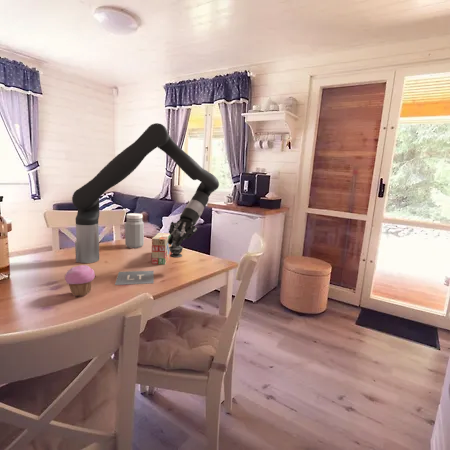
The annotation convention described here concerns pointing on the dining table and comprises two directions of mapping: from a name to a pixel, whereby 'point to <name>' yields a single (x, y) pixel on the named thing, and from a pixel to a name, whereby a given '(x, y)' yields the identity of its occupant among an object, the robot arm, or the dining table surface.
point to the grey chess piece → (174, 248)
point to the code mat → (135, 277)
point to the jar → (134, 230)
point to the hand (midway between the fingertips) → (172, 244)
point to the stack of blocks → (161, 248)
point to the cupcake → (80, 279)
